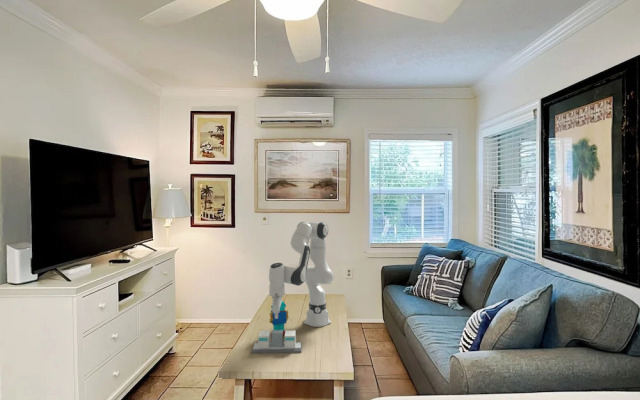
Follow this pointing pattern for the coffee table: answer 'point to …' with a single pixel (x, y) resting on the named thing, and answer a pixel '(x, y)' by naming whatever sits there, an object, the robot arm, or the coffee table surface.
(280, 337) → the block
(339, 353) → the coffee table surface
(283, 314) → the toy robot
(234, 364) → the coffee table surface
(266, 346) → the rail rack
